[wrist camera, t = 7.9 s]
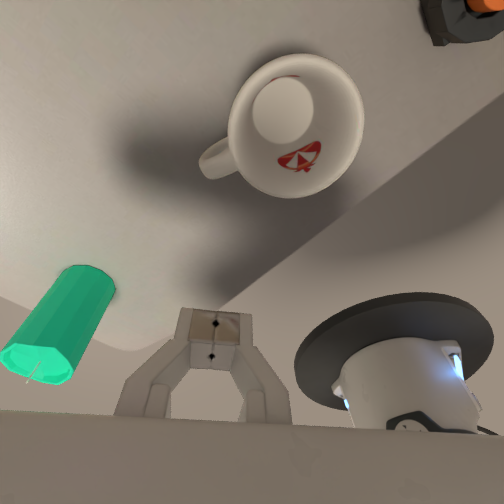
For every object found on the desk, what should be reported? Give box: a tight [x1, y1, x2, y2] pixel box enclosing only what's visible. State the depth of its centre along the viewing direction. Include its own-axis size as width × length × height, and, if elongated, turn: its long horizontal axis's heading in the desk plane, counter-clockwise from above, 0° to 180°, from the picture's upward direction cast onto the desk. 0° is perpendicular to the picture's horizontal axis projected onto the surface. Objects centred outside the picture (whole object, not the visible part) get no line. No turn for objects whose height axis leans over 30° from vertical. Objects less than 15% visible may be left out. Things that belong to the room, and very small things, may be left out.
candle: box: [0, 265, 116, 385], centre depth 29 cm, size 6×6×12 cm
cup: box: [199, 53, 365, 198], centre depth 20 cm, size 11×8×8 cm
